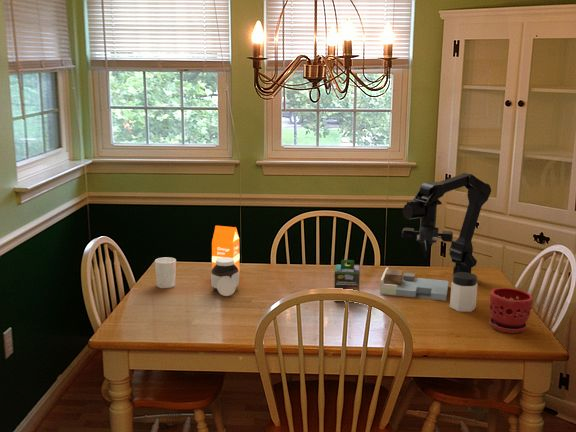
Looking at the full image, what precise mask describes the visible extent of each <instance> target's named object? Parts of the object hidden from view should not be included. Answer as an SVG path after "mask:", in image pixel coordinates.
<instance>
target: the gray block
mask: <svg viewBox="0 0 576 432" xmlns="http://www.w3.org/2000/svg"><path fill="white" fill-rule="evenodd" d="M402 280H403V281H413V282H416V274H415V273H410V272H403V279H402Z"/></svg>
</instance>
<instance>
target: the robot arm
mask: <svg viewBox="0 0 576 432" xmlns="http://www.w3.org/2000/svg"><path fill="white" fill-rule="evenodd" d="M463 187H464V188H465V189H466V190H467V200H468V206H467V207H466V212H465V216H464V219H463V223H462V226H461V228H460V232H459V236H458V238H456V240H453V238H454V233H453V231H451V230H450V231H449V230H442V232H439V230H440V229H439V227H436V225H437V212H438V211H437V209H438V205H439V206H440V205H442V204H443V203H442V201H441V200H439V199H441V198H442V197H443V196H444V195H445V194H446V193H448V192H450V191H451V192H452V191H453V190H457V189H461V188H463ZM491 193H492V187H491V185H490V184H488V183H486V182H484V181H483V180H480V179H479V178H477V177H476V176H475V175H474V174H472V173H468V172H462V173H461V174H458V175H456V176H453V177H450V178H447V179H443V180H441V181H428V182H423V183H422V184H421V185H420V188H419V189H418V191H417V193H416V194H415V195H414V198H413V199H412V200H407V201H406V204H404V206H403V208H402V215H403V218H404V219H406V220H415V219H420V222H419V223H420V225H419V227H418V230H415V228H413V227H404V228H403V229H402V231H401V238H402V239H411V238H412V237H416V241H417V242H418V243H420V245H421V248H422V253H423V255H424V257H426V258H427V257H428V255H429V251H430V249H431V248H432V246H433V244H434V243H437V241H438V239H441V241H443V242H447V243H451V244H450V247H449V248H448V250H449V256H450V260H451V262H452V263H455V264H454V265H453V271H452V275H453V274H454V273H457V272H468V273H472V268H473V267H476V266H477V263H478V261H477V259H476V258H475V257H474V256H473V252H474V247H473V244H472V243H473V242H472V240H473V236H474V233H475V230H476V226H477V224H478V219H479V217H480V213H481V209H482V206H483V205H484V204H486V203H487V202H488V200H489V198H490V195H491ZM427 241H428V242H427Z"/></svg>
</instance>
